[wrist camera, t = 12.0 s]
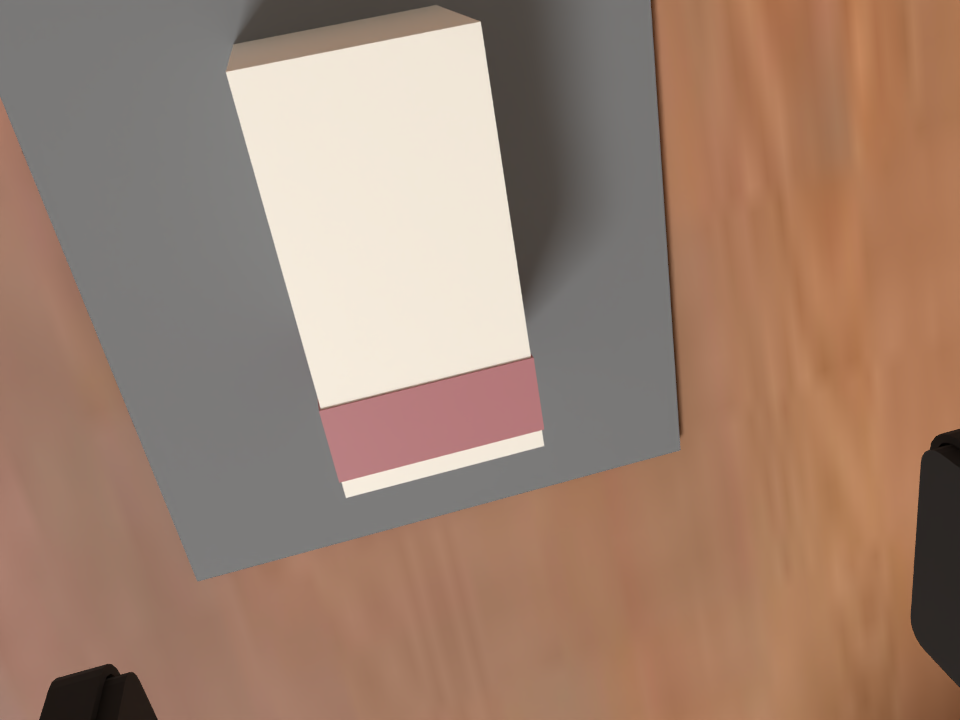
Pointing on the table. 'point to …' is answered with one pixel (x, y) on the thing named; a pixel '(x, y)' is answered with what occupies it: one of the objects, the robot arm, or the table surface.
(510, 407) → the card box
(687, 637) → the table surface
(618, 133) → the mat
